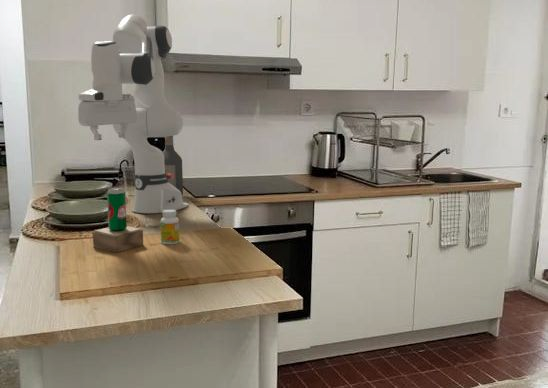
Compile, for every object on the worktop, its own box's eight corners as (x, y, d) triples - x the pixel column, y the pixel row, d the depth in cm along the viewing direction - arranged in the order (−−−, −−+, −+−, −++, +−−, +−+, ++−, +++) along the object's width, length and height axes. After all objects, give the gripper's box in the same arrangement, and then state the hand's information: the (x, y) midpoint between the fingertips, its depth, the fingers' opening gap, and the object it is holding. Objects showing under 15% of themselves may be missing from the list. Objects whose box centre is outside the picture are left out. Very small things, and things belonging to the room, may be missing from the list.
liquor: (173, 198, 238) (171, 128, 233) (156, 197, 242) (153, 128, 237) (185, 195, 247) (183, 127, 241) (168, 194, 250) (166, 127, 245)
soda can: (121, 232, 158) (119, 190, 156) (105, 231, 160) (103, 190, 157) (130, 228, 163) (128, 187, 161) (114, 227, 164) (112, 187, 162)
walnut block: (121, 240, 169) (120, 224, 168) (143, 245, 164) (142, 228, 163) (93, 247, 161) (92, 230, 160) (116, 252, 156) (115, 235, 155)
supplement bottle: (157, 243, 165) (156, 211, 164) (167, 239, 170) (166, 208, 169) (173, 245, 164) (172, 213, 162) (182, 241, 169) (181, 209, 167)
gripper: (127, 93, 183) (129, 135, 186) (73, 94, 167) (76, 140, 170) (140, 94, 180) (142, 136, 182) (87, 95, 163) (90, 142, 166)
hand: (110, 138), depth 176 cm, fingers open, 8 cm apart
